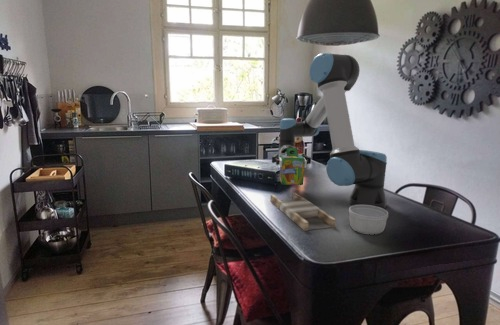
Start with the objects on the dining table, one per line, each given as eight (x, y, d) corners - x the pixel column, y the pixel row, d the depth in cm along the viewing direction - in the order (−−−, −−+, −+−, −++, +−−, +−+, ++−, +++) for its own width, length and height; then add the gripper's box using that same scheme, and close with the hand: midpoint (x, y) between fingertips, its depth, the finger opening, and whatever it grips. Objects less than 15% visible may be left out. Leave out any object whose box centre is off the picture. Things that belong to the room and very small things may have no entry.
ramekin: (342, 221, 129) (343, 204, 127) (376, 221, 130) (378, 203, 128) (355, 236, 116) (357, 217, 114) (393, 236, 117) (395, 217, 115)
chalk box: (281, 185, 143) (283, 150, 140) (278, 179, 152) (279, 146, 149) (304, 185, 143) (305, 150, 140) (299, 179, 152) (301, 146, 149)
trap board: (270, 201, 150) (270, 194, 150) (295, 199, 154) (295, 192, 153) (304, 230, 120) (305, 222, 119) (335, 227, 123) (335, 219, 123)
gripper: (311, 162, 164) (319, 173, 142) (264, 161, 164) (266, 172, 142) (312, 146, 162) (320, 155, 140) (265, 145, 163) (266, 154, 141)
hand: (293, 164), depth 141 cm, fingers closed on chalk box, 9 cm apart
